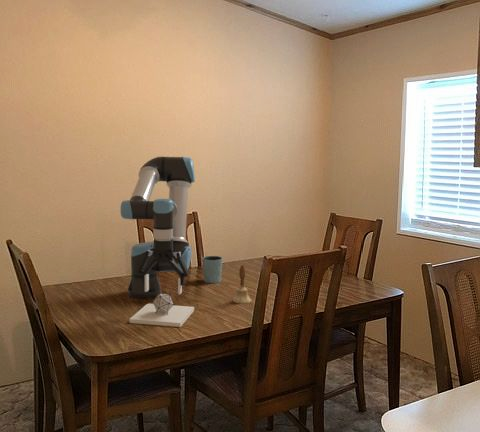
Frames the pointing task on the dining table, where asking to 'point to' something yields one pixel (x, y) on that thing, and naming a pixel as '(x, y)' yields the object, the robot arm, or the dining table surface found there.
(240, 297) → the hand bell
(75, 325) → the dining table surface
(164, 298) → the game die
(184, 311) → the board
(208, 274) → the blue cup
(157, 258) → the robot arm
